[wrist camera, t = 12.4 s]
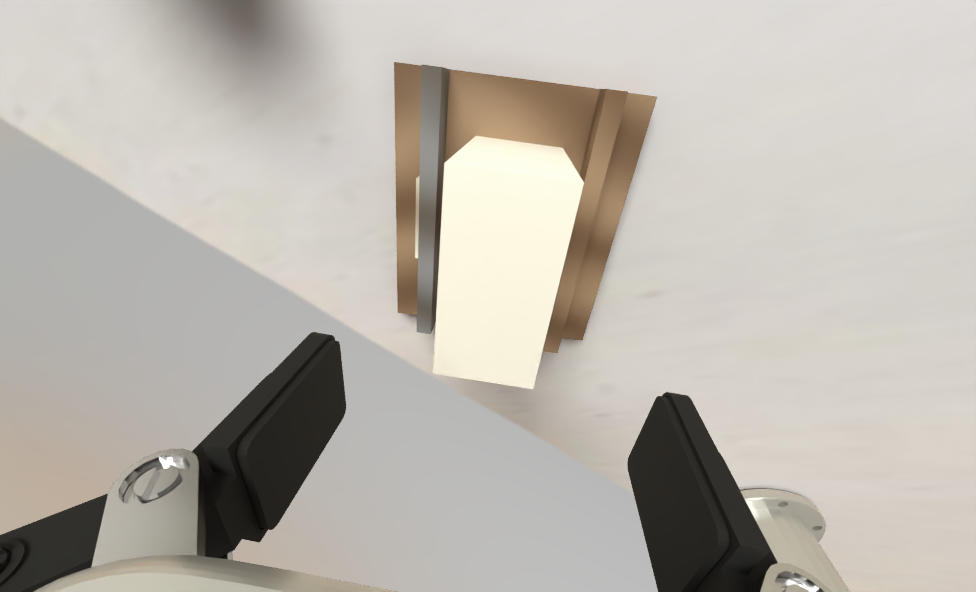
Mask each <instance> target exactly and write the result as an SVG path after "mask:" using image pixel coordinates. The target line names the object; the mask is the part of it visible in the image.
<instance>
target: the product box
mask: <svg viewBox="0 0 976 592" xmlns="http://www.w3.org/2000/svg"><path fill="white" fill-rule="evenodd" d="M583 185H584V182H583V180H582V179H581V177H580V175H579V174H578V172H577V170H576V169H575V167H574V165H573V164H572V162H571V160H570V159H569V157H568V156H567V154H566V152H565V151H564V149H563V148H560V147H553V146H546V145H539V144H531V143H524V142H517V141H510V140H503V139H496V138H489V137H481V136H475V137H474V138H473V139H472V140H471V141H469V142H468V143H467V144H466V145H465V146H464V147H462V148H461V149H460V150H459V151H458V152H457V153H455V154H454V155H453V156H452V157H451V158H450V159H448V160H447V161H446V162H445V163H444V178H443V197H442V215H441V234H440V252H439V271H438V290H437V308H436V327H435V345H434V364H433V374H439V375H446V376H452V377H458V378H465V379H471V380H477V381H484V382H490V383H497V384H503V385H509V386H516V387H522V388H528V389H533V388H534V384H535V380H536V375H537V371H538V367H539V363H540V359H541V355H542V351H543V347H544V343H545V339H546V335H547V331H548V327H549V323H550V319H551V315H552V311H553V307H554V303H555V299H556V295H557V290H558V286H559V282H560V278H561V274H562V270H563V266H564V262H565V258H566V254H567V250H568V246H569V242H570V238H571V234H572V230H573V226H574V222H575V218H576V214H577V209H578V205H579V201H580V197H581V193H582V189H583Z"/></svg>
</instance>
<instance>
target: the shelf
mask: <svg viewBox="0 0 976 592" xmlns="http://www.w3.org/2000/svg"><path fill="white" fill-rule="evenodd" d="M394 79H395V150H396V220H397V290H398V313H404V314H410V315H417V332H421V333H427V334H431V332H432V329H433V327H434V324H435V322H436V308H437V290H438V271H439V252H440V234H441V215H442V197H443V178H444V163H445V162H446V161H447V160H448V159H450V158H451V157H452V156H453V155H454V154H455V153H457V152H458V151H459V150H460V149H461V148H462V147H464V146H465V145H466V144H467V143H468V142H469V141H471V140H472V139H473V138H474V137H475V136H481V137H489V138H496V139H503V140H510V141H517V142H524V143H531V144H539V145H546V146H553V147H560V148H563V149H564V151H565V152H566V154H567V156H568V157H569V159H570V160H571V162H572V164H573V165H574V167H575V169H576V170H577V172H578V174H579V175H580V177H581V179H582V180H583V182H584V185H583V189H582V193H581V197H580V201H579V205H578V209H577V214H576V218H575V222H574V226H573V230H572V234H571V238H570V242H569V246H568V250H567V254H566V258H565V262H564V266H563V270H562V274H561V278H560V282H559V286H558V290H557V295H556V299H555V303H554V307H553V311H552V315H551V319H550V323H549V327H548V331H547V335H546V339H545V343H544V347H543V351H546V352H552V353H558V349H559V346H560V342H561V338H562V337H563V338H570V339H576V340H583V336H584V333H585V330H586V327H587V323H588V320H589V317H590V314H591V310H592V307H593V304H594V301H595V297H596V294H597V291H598V288H599V284H600V281H601V278H602V275H603V271H604V268H605V265H606V262H607V258H608V255H609V252H610V249H611V245H612V242H613V239H614V236H615V232H616V229H617V226H618V223H619V219H620V216H621V213H622V209H623V206H624V203H625V200H626V196H627V193H628V190H629V187H630V183H631V180H632V177H633V174H634V170H635V167H636V164H637V161H638V157H639V154H640V151H641V148H642V144H643V141H644V138H645V135H646V131H647V128H648V125H649V122H650V118H651V115H652V112H653V109H654V105H655V102H656V99H657V97H655V96H647V95H640V94H632V93H628V92H625V91H618V90H610V89H594V88H586V87H579V86H571V85H564V84H556V83H548V82H541V81H533V80H526V79H518V78H510V77H503V76H495V75H488V74H480V73H472V72H465V71H457V70H450V69H446V68H442V67H435V66H428V65H422V66H419V65H412V64H404V63H396V62H394Z"/></svg>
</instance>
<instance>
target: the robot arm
mask: <svg viewBox="0 0 976 592" xmlns="http://www.w3.org/2000/svg"><path fill="white" fill-rule="evenodd" d="M345 410H346V401H345V391H344V381H343V371H342V361H341V351H340V344H339V342H338V341H335V338H334V337H333V336H332V335H327V334H321V333H316V332H313V333H311V334H309V335H308V336H307V337H306V339H305V340H303V341H302V342H301V344H299V346H298V347H297V348H295V350H294V351H293V352H292V353H291V354H290V355H289V356H288V357H287V358H286V359H285V360H284V361H283V362H282V363H281V364H280V365H279V366H278V367H277V368H276V369H275V370H274V371H273V372H272V373H270V374H269V375H268V376H266V377H265V378H264V379H263V380H262V381H261V382H260V383H259V384H258V385H257V386H256V387H255V389H254V390H252V391H251V392H250V393H249V394H248V396H247V397H245V399H243V400H242V401H241V402H240V404H239V405H238V406H237V407H236V408H235V409H234V410H233V411H232V412H231V413H230V414H229V415H228V416H227V417H226V418H225V419H224V420H223V421H222V422H221V423H220V424H219V425H218V426H217V427H216V428H215V429H214V430H213V431H212V432H211V433H210V434H209V435H208V436H207V437H206V438H205V439H204V440H203V441H202V442H201V443H200V444H199V445H198V446H197V447H196V448H195V449H194V450H193V451H189V450H185V449H169V450H164V451H160V452H157V453H154V454H152V455H149V456H147V457H145V458H143V459H141V460H140V461H138V462H136V463H134V464H133V465H131V466H130V467H129V468H128V469H126V470H125V471H124V472H123V473H122V474H121V475H120V476H119V477H118V478H117V479H116V481H115V482H114V483H113V484H112V486H111V489H110V491H109V493H108V494H106V495H103V496H100V497H98V498H95V499H93V500H90V501H88V502H85V503H82V504H80V505H77V506H75V507H72V508H69V509H67V510H64V511H62V512H59V513H57V514H54V515H51V516H49V517H46V518H44V519H41V520H38V521H36V522H33V523H31V524H28V525H25V526H23V527H21V528H18V529H15V530H12V531H10V532H7V533H5V534H2V535H0V592H396V591H390V590H386V589H381V588H376V587H370V586H366V585H361V584H356V583H351V582H346V581H341V580H335V579H331V578H325V577H320V576H315V575H310V574H305V573H300V572H295V571H290V570H284V569H279V568H273V567H267V566H262V565H256V564H250V563H245V562H239V561H233V555H232V551H233V550H235V548H236V546H237V545H238V544H239V542H240V541H241V539H245V540H250V541H256V542H260V541H261V540H262V538H263V536H264V535H265V533H266V532H267V530H268V529H269V530H272V529H274V528H275V527H276V525H277V524H278V523H279V521H280V520H281V518H282V516H283V515H284V513H285V511H286V510H287V508H288V507H289V505H290V503H291V502H292V500H293V498H294V497H295V495H296V494H297V492H298V490H299V488H300V487H301V485H302V484H303V482H304V480H305V479H306V477H307V476H308V474H309V472H310V471H311V469H312V468H313V466H314V464H315V463H316V461H317V459H318V458H319V456H320V454H321V453H322V451H323V450H324V448H325V446H326V445H327V443H328V442H329V440H330V438H331V437H332V435H333V433H334V432H335V430H336V429H337V427H338V425H339V424H340V422H341V420H342V419H343V417H344V414H345ZM628 472H629V476H630V480H631V484H632V488H633V492H634V496H635V500H636V504H637V508H638V512H639V516H640V520H641V524H642V528H643V532H644V536H645V540H646V544H647V548H648V552H649V556H650V560H651V564H652V568H653V572H654V576H655V580H656V584H657V588H658V592H850V591H849V589H848V588H847V586H846V585H845V583H844V581H843V580H842V578H841V577H840V575H839V574H838V572H837V571H836V569H835V567H834V566H833V564H832V563H831V561H830V560H829V558H828V557H827V555H826V553H825V552H824V550H823V549H822V547H821V546H820V544H819V543H818V542H819V541H820V540H821V539H822V537H823V535H824V533H825V527H826V524H825V521H824V518H823V516H822V515H821V513H820V512H819V510H818V509H817V508H816V506H815V505H814V504H813V503H811V502H810V501H809V500H807V499H805V498H804V497H802V496H799V495H797V494H794V493H791V492H787V491H781V490H774V489H749V490H742V491H740V490H739V488H738V486H737V484H736V482H735V480H734V478H733V476H732V474H731V472H730V470H729V469H728V467H727V465H726V463H725V461H724V459H723V457H722V456H721V454H720V453H719V452H718V450H717V448H716V446H715V444H714V442H713V440H712V439H711V437H710V435H709V433H708V431H707V429H706V427H705V425H704V423H703V421H702V419H701V417H700V416H699V414H698V412H697V410H696V408H695V406H694V404H693V402H692V400H691V399H690V397H688V396H686V395H681V394H675V393H669V392H666V393H664V394H663V396H658V397H657V398H656V399H655V402H654V404H653V406H652V408H651V410H650V412H649V414H648V417H647V419H646V421H645V423H644V425H643V427H642V430H641V432H640V434H639V436H638V438H637V440H636V442H635V445H634V447H633V449H632V451H631V453H630V455H629V458H628Z"/></svg>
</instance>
